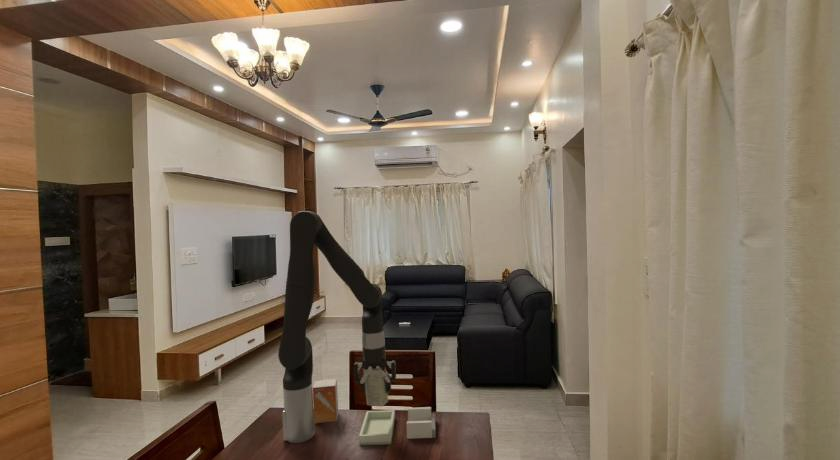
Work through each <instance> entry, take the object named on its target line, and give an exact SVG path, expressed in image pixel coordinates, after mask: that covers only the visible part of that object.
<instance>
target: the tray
mask: <svg viewBox="0 0 840 460" xmlns="http://www.w3.org/2000/svg"><path fill="white" fill-rule="evenodd" d="M395 411H396V410H395V409H392V410H391V409H389V410H386V409H385V410H366V412H365V416H364V417H363V422H362V425H361V428H360V432H359V435H358V440H359V441H358V442H359V443H358V445H359V446H375V445H376V446H379V445H382V446H383V445H392V441H393V433H394V428H395V420H396V412H395Z"/></svg>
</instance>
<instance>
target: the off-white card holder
mask: <svg viewBox="0 0 840 460" xmlns="http://www.w3.org/2000/svg"><path fill="white" fill-rule="evenodd" d="M435 416H436V414H435V413H432V407H431V406H422V407H421V406H419V407H408V408H407V419H408V420H407V421H406V438H407V440H408V439H409V440H410V439H428V438H429V439H432V438H436V437H437V435H436V433H437V432H436V417H435Z"/></svg>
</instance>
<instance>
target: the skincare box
mask: <svg viewBox="0 0 840 460" xmlns="http://www.w3.org/2000/svg"><path fill="white" fill-rule="evenodd" d="M381 369H382V368H381ZM381 369H376V368H374V369H372V370H371V371H369V375H368V376H367V378H366V380H365V381H364V382H365V391H366V394H365V399H366V405H367V406H374V407H383V406H385V405H386V404H387V403H388V402H389V393H387V391H386V380H385V378H383V377H382V373H381ZM385 369H386V368H385ZM385 369H384V372H385ZM366 371H367V370H365V369H364V368H362V372H363V375H364V374H365V372H366Z"/></svg>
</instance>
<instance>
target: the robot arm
mask: <svg viewBox="0 0 840 460" xmlns="http://www.w3.org/2000/svg"><path fill="white" fill-rule="evenodd" d="M315 246H316V248H317V249H319V251H320V252H321V253H322V254H323V256H324V258H325V259H326V261H327V262H328V264H329V266H330V267H331V269H332V270H333V272H335V273H336V275H337V276H338V277H339V278H340V279H341V280H342V281H343V282H344V284H345V285H347V287H348V288H349V289H350V291H351V293H352V294H353V296H354V297H355V299H356V300H357V301H358V302H359V303H360V304H361V306H362V317H361V334H362V335H361V343H362V344H361V345H362V346H361V347H362V349H361V350H362V362H359V361H355V363H353V372H354V373H353V375H354V376H353V377H354V382H355V383H359V384H360V392H361V393H362V394H363V395H366V391H365V382H364V381H365V380H366V378H367V376H368V375H369V371H371V370H372V369H374V368H376V369H381V368H382V369H381V373H382V377H383V378H385V380H386V391H387V393H388V394H389V393H390V392H391V391H392V382H393V381H395V380H396V379H397V370H396V365H397V364H396V360H394V359H393V360H392V361H391V360H390V361H388V360H387V358H386V357H387V355H386V339H385V333H384V323H383V322H384V321H383V320H384V318H383V292H382V291H383V290H382V289H381V287H380V286H379V285H378V284H376V283H371V281H370V280H369V279H368V277H366V274H365V272H364V270H363V269H362V268H361V267H360V266H359V264H357V262H356V261H355V260H354V258H352V257H351V256H350V254H349V253H347V251H346V250H344V248H343V247H342V246H341V245H340V244H339V242H338V241H337V240H336V239H335V238H334V236H333V235H332V233H330V231H329V228H327V226H326V225H325V223H324V221H323V219H322V217H321V216H320V215H319V214H317V213H316V212H313V211H312V210H311V211H310V210H301V211H298V212H296V213H295V214H293V216H292V218H291V219H290V221H289V258H288V264H287V265H288V266H287V273H286V274H287V275H286V284H285V292H284V310H283V327H282V333H281V337H280V342H279V347H278V353H277V355H278V356H277V357H278V360H279V363H280V364H281V366H282V367H283V368H284V374H283V378H282V388H283V389H282V391H283V407H284V409H283V410H282V413H281V415H282V416H281V417H282V432H283V441H284V442H287V443H288V442H289V443H292V444H299V443H304V442H307V441H309V440H310V439H312V438H314V436H315V434H316V433H315V429H316V428H315V423H314V404H313V372H314V362H313V361H314V359H313V358H314V357H313V356H314V355H313V346H312V342H311V341H310V339H309V338H308V337H307V336H306V335H307V325H308V321H309V318H310V315H311V311H312V309H313V304H314V300H315V291H316V279H317V277H316V271H315V265H314V247H315ZM387 366H388V368H389V369H391V375H390V374H389V372H388V371H387ZM361 368H362V369H365V370H367V371H366V372H365V374H364V373H363V375H362V376H360V370H361ZM384 369H385V372H384Z"/></svg>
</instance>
